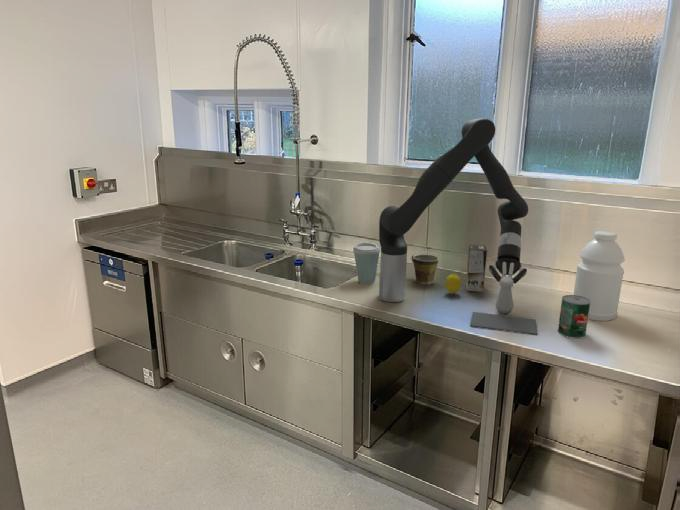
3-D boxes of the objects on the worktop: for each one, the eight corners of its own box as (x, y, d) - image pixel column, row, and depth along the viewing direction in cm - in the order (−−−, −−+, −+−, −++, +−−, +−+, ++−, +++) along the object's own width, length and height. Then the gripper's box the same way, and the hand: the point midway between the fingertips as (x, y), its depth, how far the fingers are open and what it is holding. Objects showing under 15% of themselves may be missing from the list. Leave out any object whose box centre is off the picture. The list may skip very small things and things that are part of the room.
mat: (472, 313, 175) (472, 311, 175) (535, 320, 170) (535, 319, 169) (469, 326, 164) (470, 325, 164) (537, 335, 158) (537, 333, 158)
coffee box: (483, 292, 196) (487, 250, 192) (466, 290, 197) (469, 249, 193) (482, 284, 205) (485, 244, 200) (465, 283, 206) (468, 243, 202)
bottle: (597, 324, 167) (610, 239, 160) (561, 310, 179) (572, 230, 171) (625, 317, 173) (639, 235, 166) (589, 303, 185) (600, 226, 178)
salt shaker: (492, 307, 178) (494, 275, 172) (509, 304, 178) (512, 273, 172) (498, 317, 173) (501, 285, 167) (515, 315, 174) (518, 283, 167)
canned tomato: (583, 340, 155) (588, 305, 152) (555, 334, 159) (560, 300, 156) (587, 331, 162) (592, 298, 159) (560, 325, 166) (564, 293, 163)
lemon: (461, 293, 195) (463, 272, 193) (458, 297, 190) (459, 276, 188) (446, 290, 197) (448, 270, 195) (443, 295, 192) (444, 274, 190)
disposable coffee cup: (383, 285, 203) (384, 247, 199) (356, 287, 200) (357, 249, 196) (374, 277, 213) (375, 241, 209) (349, 278, 210) (349, 242, 206)
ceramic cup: (442, 283, 206) (444, 258, 203) (423, 287, 200) (425, 262, 198) (420, 274, 216) (421, 251, 213) (401, 278, 211) (402, 254, 208)
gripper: (490, 241, 181) (485, 285, 173) (530, 244, 177) (527, 289, 169) (489, 252, 187) (484, 295, 179) (528, 255, 183) (525, 299, 175)
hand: (505, 292), depth 174 cm, fingers closed
